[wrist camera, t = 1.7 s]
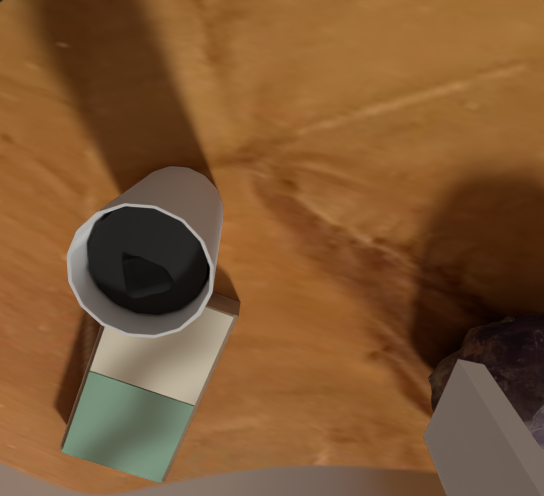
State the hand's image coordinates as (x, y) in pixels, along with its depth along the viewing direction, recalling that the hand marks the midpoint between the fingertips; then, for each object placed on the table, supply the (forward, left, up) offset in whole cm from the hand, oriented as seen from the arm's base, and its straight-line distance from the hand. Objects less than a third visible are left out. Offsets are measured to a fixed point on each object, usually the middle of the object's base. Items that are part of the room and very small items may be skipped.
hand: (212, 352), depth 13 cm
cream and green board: (-1, -15, -19) cm, 25 cm away
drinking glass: (-3, -3, -20) cm, 20 cm away
